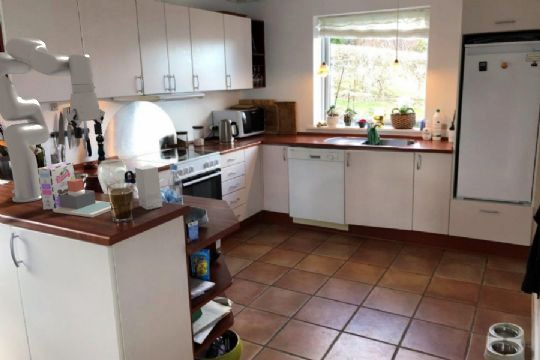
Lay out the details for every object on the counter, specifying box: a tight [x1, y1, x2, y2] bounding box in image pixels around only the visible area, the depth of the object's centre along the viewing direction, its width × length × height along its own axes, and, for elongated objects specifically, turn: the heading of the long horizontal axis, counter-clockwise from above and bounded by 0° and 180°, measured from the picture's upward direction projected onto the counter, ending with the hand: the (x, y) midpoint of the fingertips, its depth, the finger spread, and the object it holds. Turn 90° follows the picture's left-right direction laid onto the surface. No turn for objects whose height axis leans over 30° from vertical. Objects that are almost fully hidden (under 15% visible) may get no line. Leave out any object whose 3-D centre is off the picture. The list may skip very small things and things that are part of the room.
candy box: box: [37, 161, 76, 211], centre depth 181 cm, size 14×6×16 cm, turn 166°
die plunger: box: [67, 178, 86, 196], centre depth 177 cm, size 6×6×8 cm
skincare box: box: [134, 164, 163, 210], centre depth 175 cm, size 8×7×16 cm
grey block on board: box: [52, 189, 112, 218], centre depth 176 cm, size 20×15×6 cm
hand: (88, 136), depth 170 cm, fingers open, 9 cm apart
